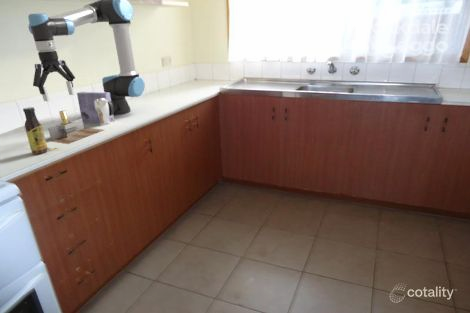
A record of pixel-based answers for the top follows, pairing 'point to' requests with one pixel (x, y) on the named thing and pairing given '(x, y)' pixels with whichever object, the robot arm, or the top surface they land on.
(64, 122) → the hinge pin
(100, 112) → the beer glass
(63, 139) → the walnut board
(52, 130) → the grey rectangular block
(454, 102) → the top surface
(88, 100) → the cake pan box
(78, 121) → the grey block
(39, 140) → the sauce bottle
